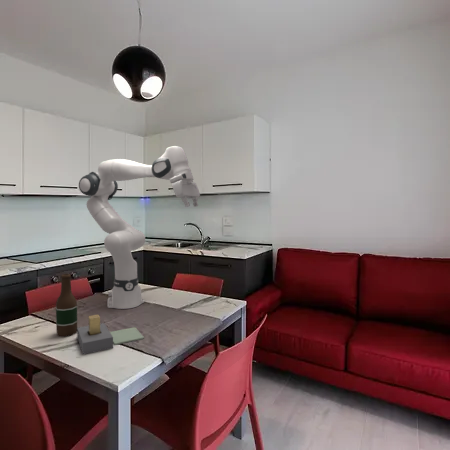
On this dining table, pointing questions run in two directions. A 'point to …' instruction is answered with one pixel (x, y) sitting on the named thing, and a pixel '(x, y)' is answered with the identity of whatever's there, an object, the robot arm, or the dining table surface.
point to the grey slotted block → (94, 339)
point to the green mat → (126, 335)
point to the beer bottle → (66, 309)
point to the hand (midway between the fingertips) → (192, 206)
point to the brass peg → (94, 324)
